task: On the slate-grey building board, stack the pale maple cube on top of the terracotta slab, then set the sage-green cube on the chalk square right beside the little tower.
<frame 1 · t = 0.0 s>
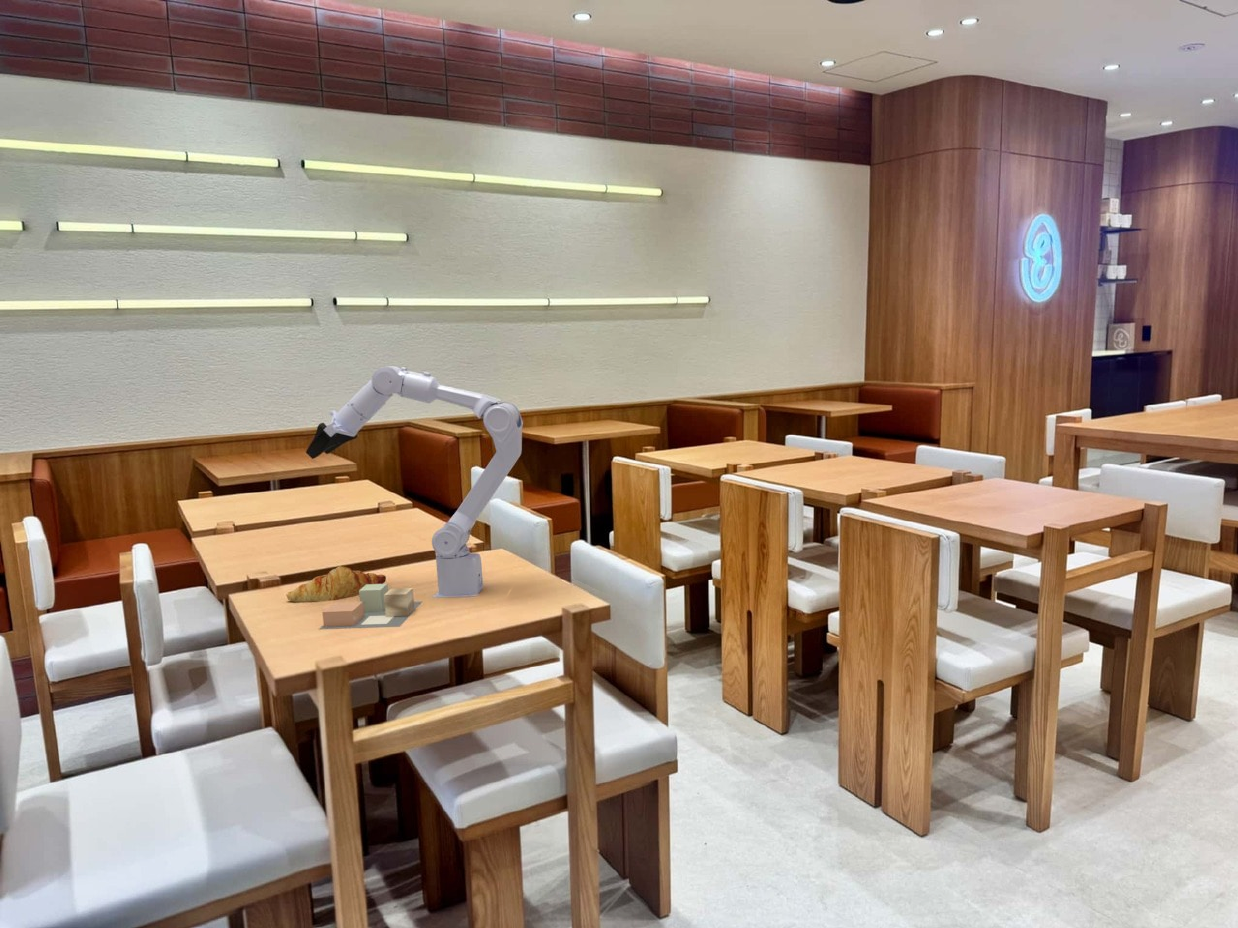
hand: (316, 453, 180), 32 cm above the table, fingers open, 7 cm apart
croissant: (338, 597, 186), on the table
board: (373, 617, 169), on the table
maple cube: (400, 612, 170), point 1 cm above the table, touching board
terracotta slab: (344, 621, 166), resting on board
sage cube: (375, 608, 174), resting on board
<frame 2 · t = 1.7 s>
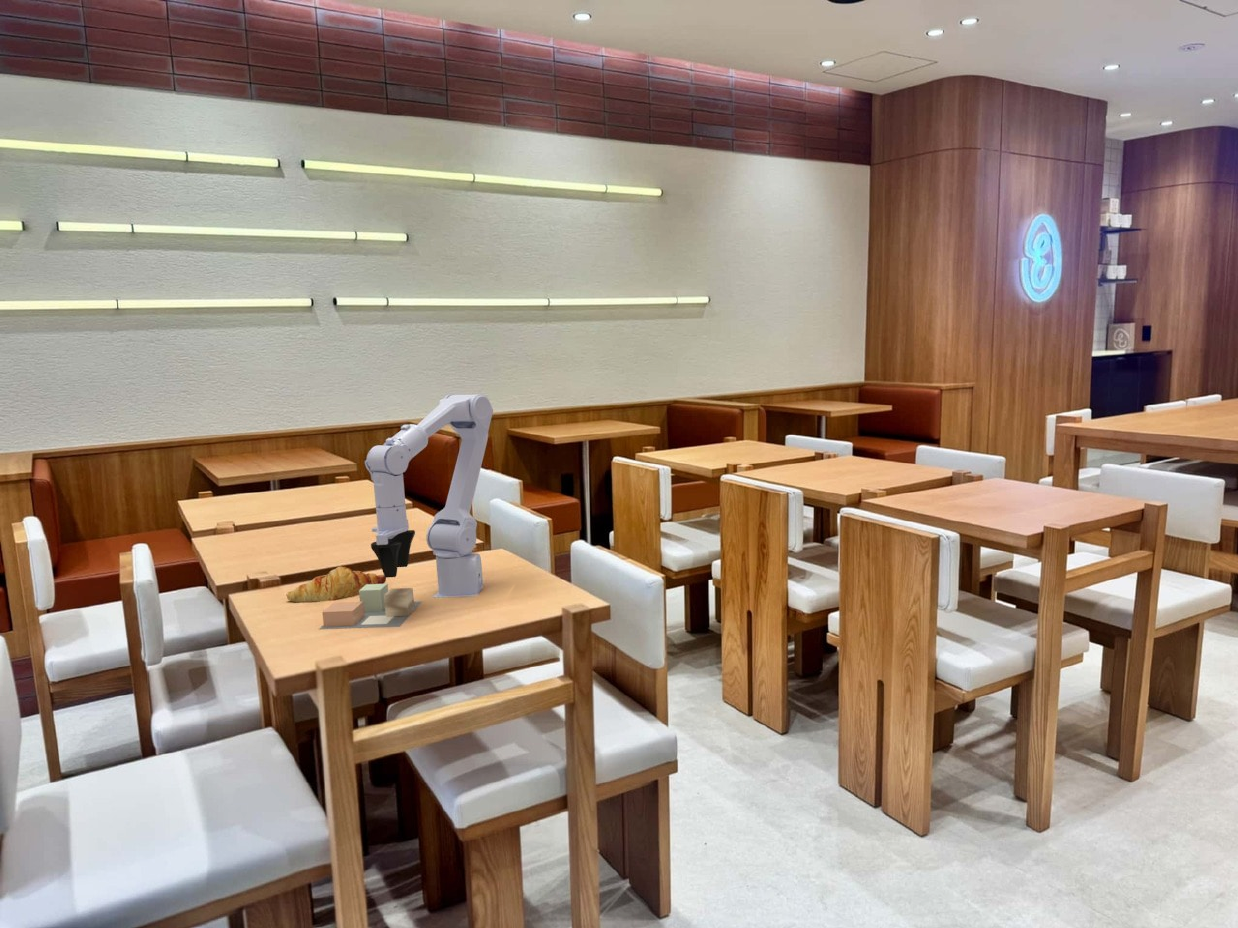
hand: (396, 571, 168), 9 cm above the table, fingers open, 7 cm apart
nothing on the table moved.
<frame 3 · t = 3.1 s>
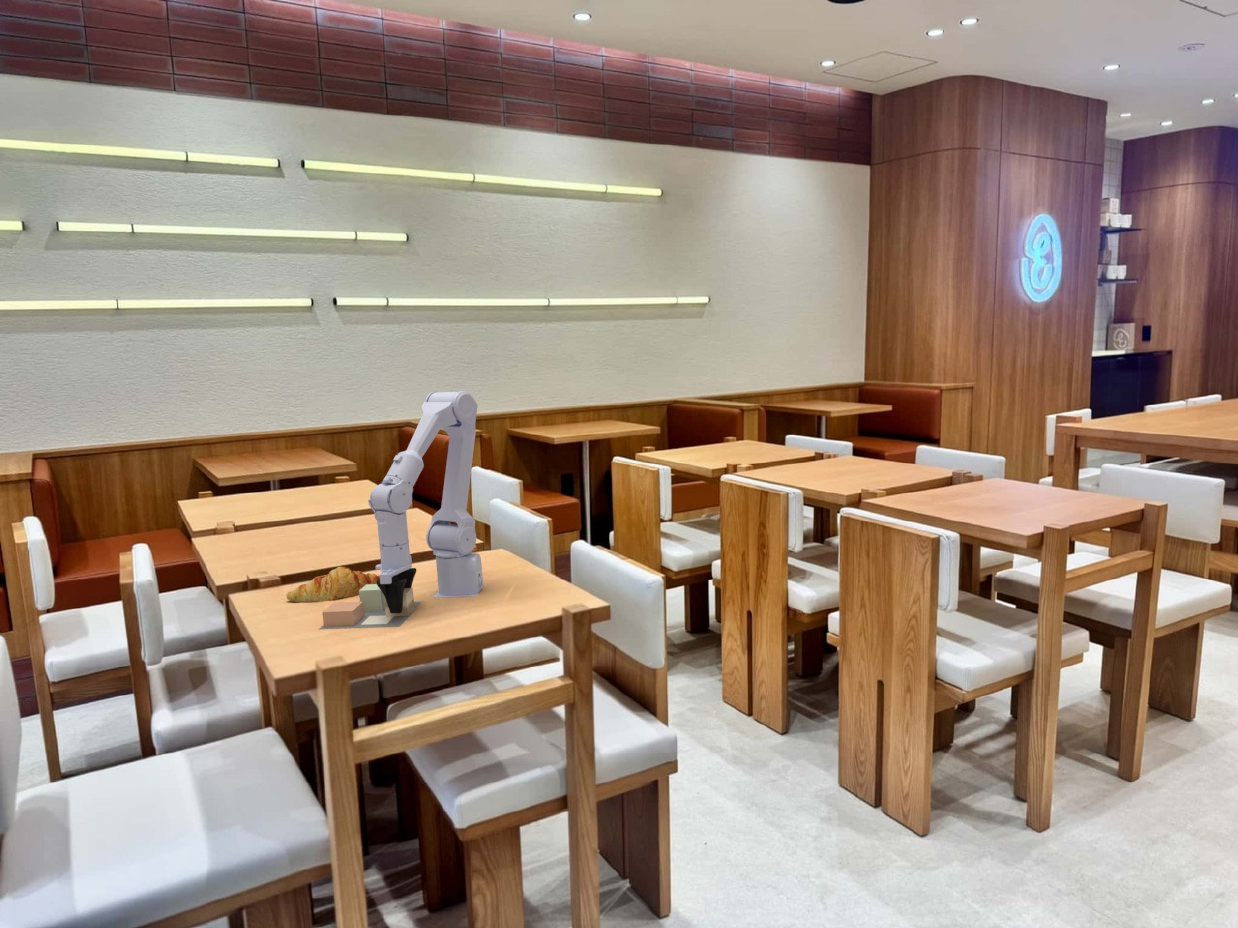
hand: (400, 608, 169), 1 cm above the table, fingers closed on maple cube, 4 cm apart
maple cube: (400, 612, 170), point 1 cm above the table, touching board, gripper
everything else where it was.
when the fingers open (5 cm above the table, at t = 5.9 s): maple cube stays where it is, resting on terracotta slab.
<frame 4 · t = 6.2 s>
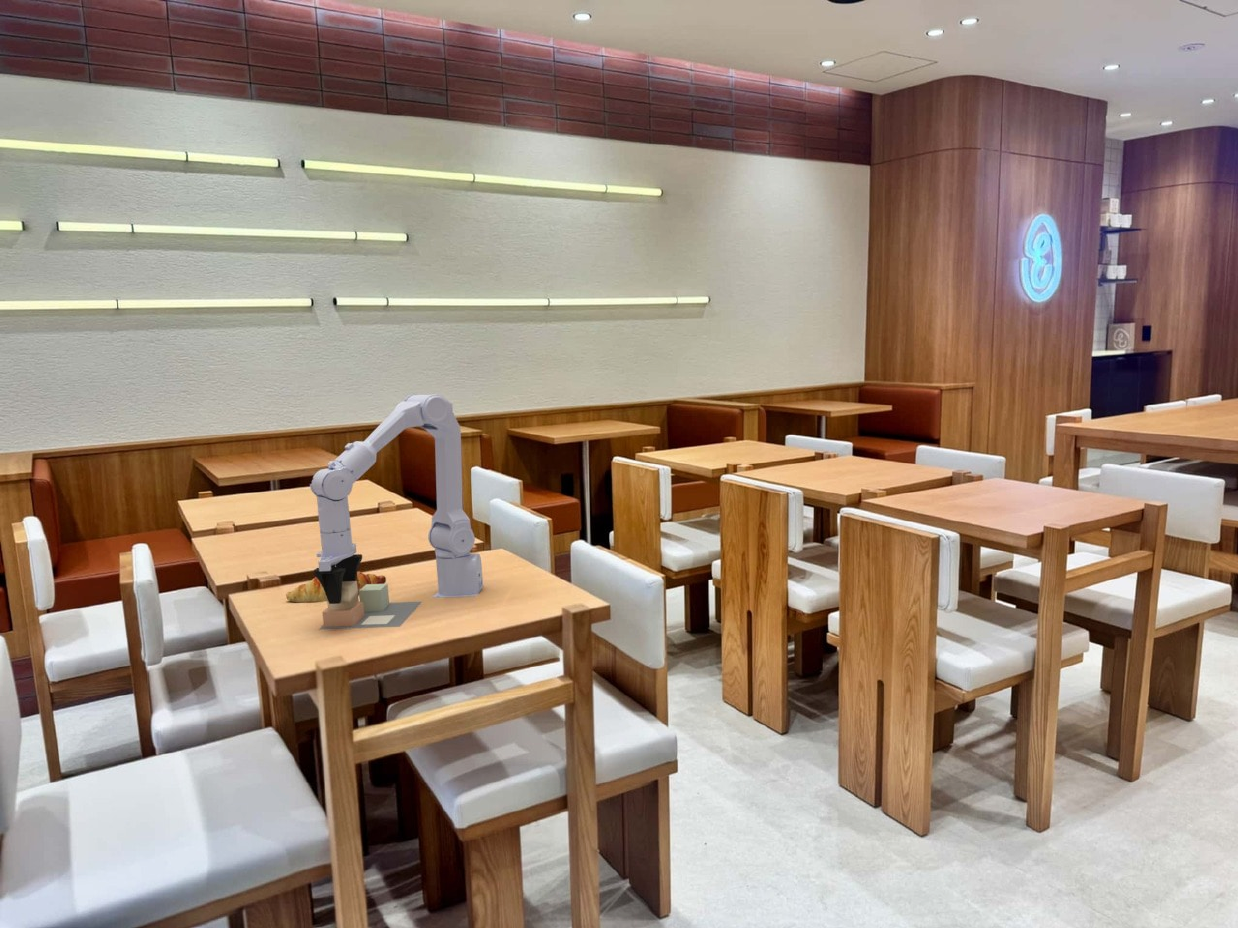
hand: (342, 597, 165), 5 cm above the table, fingers open, 7 cm apart
maple cube: (343, 606, 166), point 3 cm above the table, touching terracotta slab
terracotta slab: (344, 621, 166), resting on board, touching maple cube
everything else where it was.
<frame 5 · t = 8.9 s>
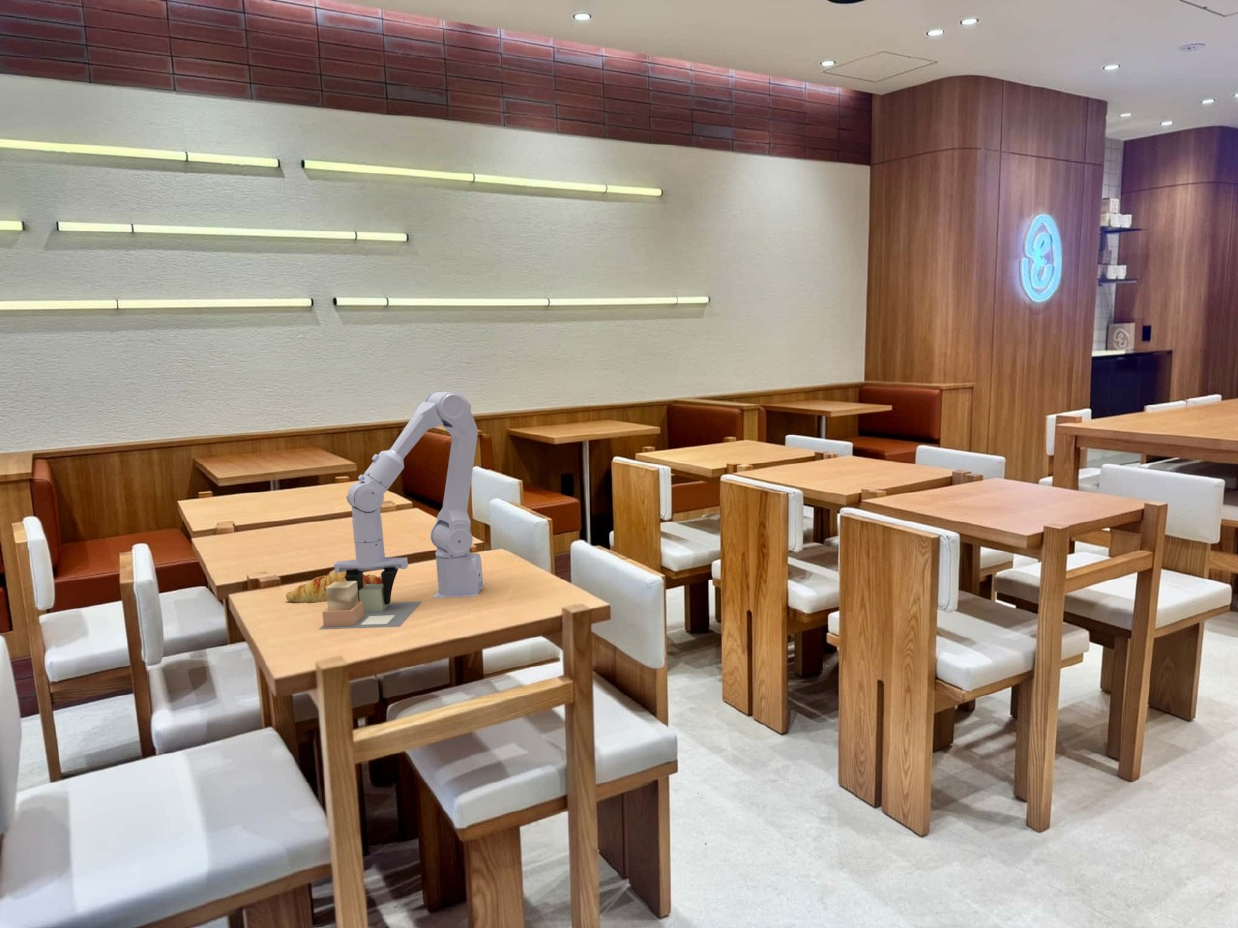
hand: (374, 603, 174), 1 cm above the table, fingers closed on sage cube, 5 cm apart
sage cube: (375, 608, 174), resting on board, touching gripper
everything else where it was.
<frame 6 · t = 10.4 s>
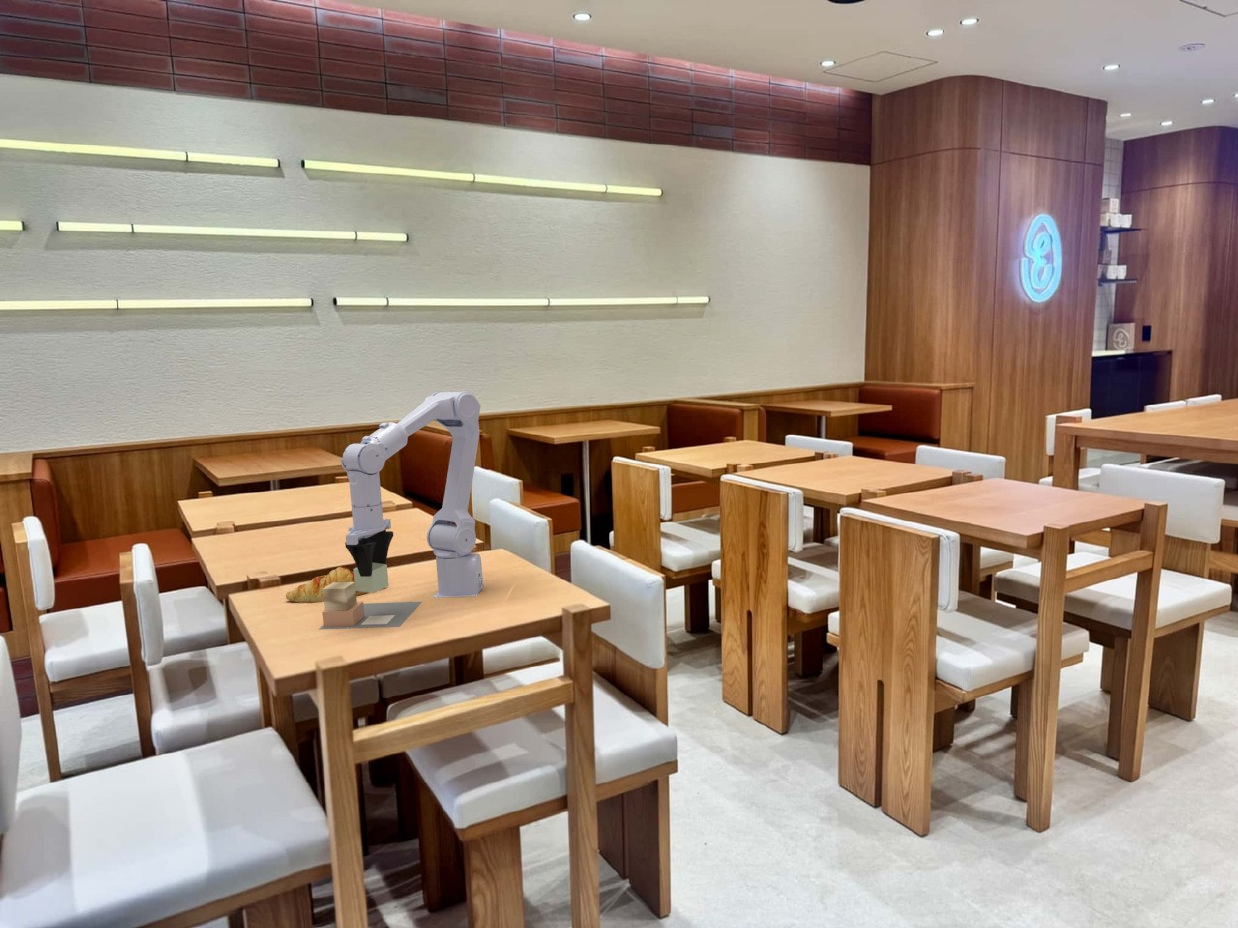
hand: (372, 572, 166), 10 cm above the table, fingers closed on sage cube, 5 cm apart
sage cube: (372, 588, 167), point 7 cm above the table, touching gripper
everything else where it was.
when the fingers open (2 cm above the table, at t = 12.5 s): sage cube stays where it is, resting on board.
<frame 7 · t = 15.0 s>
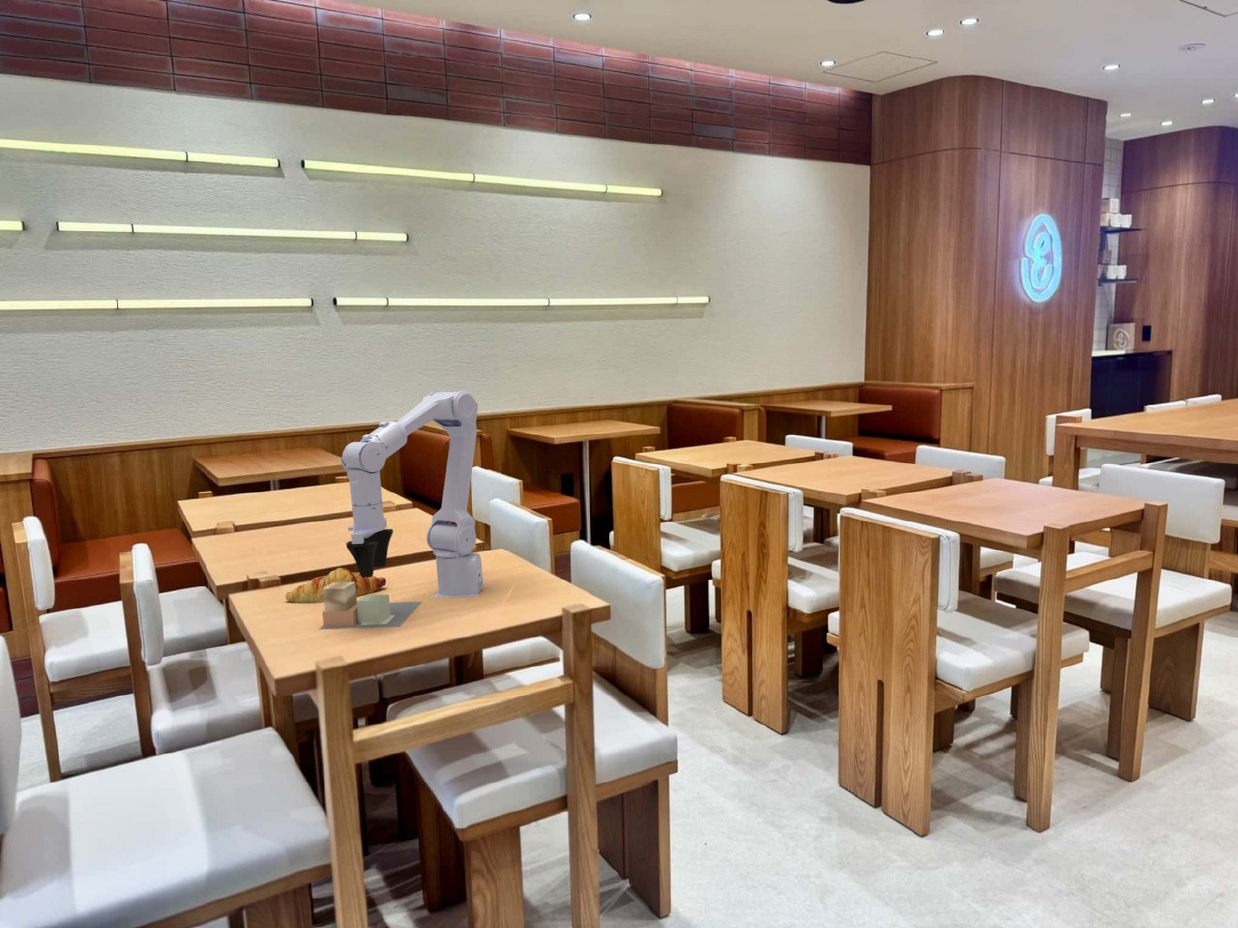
hand: (373, 571, 164), 10 cm above the table, fingers open, 7 cm apart
sage cube: (374, 619, 166), point 1 cm above the table, touching board
at the end: maple cube 0.4 cm off-centre on the terracotta slab, point 3.0 cm above the terracotta slab's base; maple cube tilted 0°; sage cube 0.8 cm from the target spot, point 0.6 cm above the table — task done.
